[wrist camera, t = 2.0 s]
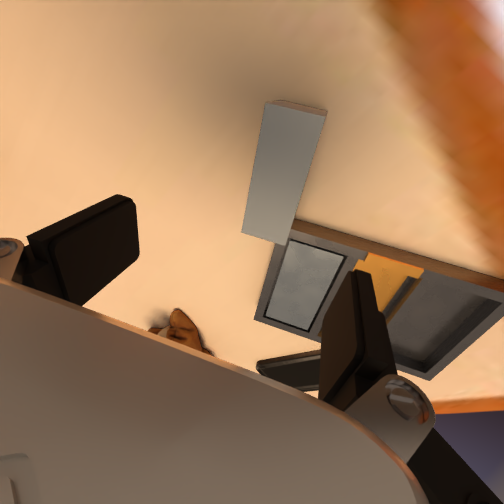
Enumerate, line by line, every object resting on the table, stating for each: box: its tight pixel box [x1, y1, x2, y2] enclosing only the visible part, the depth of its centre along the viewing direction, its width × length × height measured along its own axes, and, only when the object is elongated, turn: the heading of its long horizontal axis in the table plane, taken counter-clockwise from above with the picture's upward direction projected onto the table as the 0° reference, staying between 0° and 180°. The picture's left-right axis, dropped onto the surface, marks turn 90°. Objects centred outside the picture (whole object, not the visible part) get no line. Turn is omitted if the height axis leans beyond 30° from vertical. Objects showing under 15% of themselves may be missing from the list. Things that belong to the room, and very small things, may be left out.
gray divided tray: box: [254, 218, 504, 381], centre depth 28 cm, size 14×22×3 cm, turn 80°
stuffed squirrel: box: [148, 310, 210, 355], centre depth 38 cm, size 10×14×13 cm
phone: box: [256, 350, 321, 392], centre depth 39 cm, size 8×1×15 cm
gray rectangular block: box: [241, 100, 327, 246], centre depth 22 cm, size 10×4×6 cm, turn 170°
